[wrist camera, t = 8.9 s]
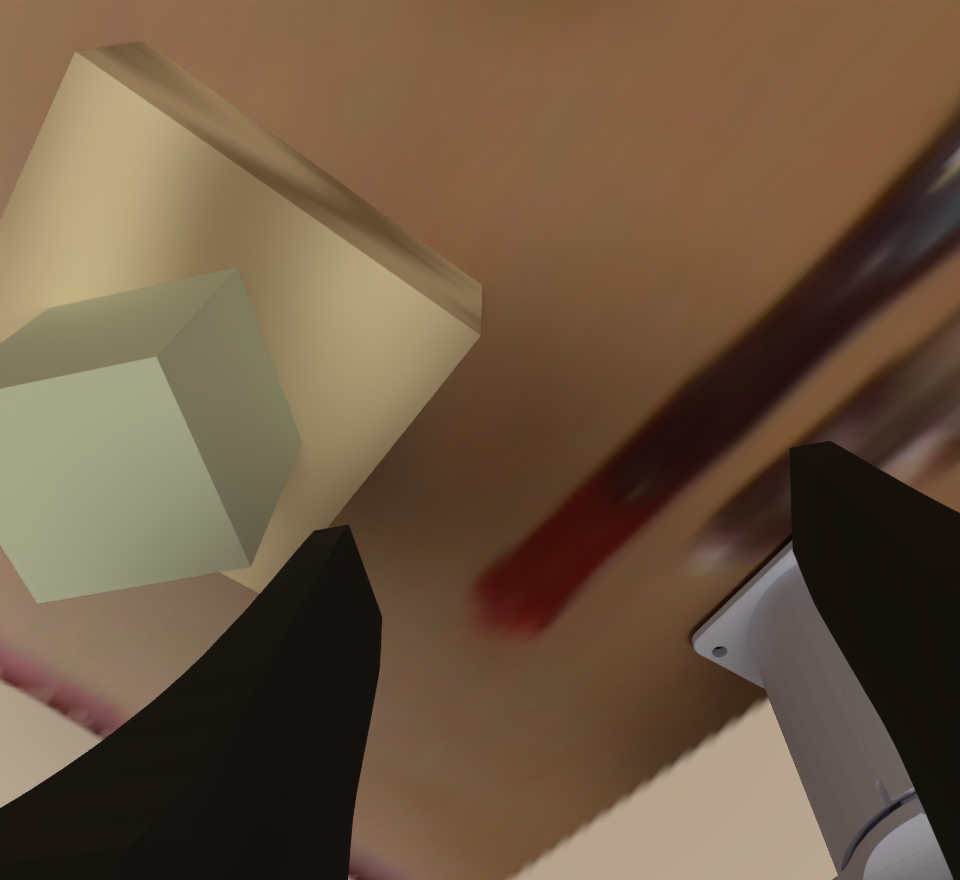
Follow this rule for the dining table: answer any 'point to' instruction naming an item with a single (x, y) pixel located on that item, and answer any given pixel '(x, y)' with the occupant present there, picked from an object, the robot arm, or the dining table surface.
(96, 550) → the sage block
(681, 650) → the dining table surface
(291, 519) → the bamboo box
